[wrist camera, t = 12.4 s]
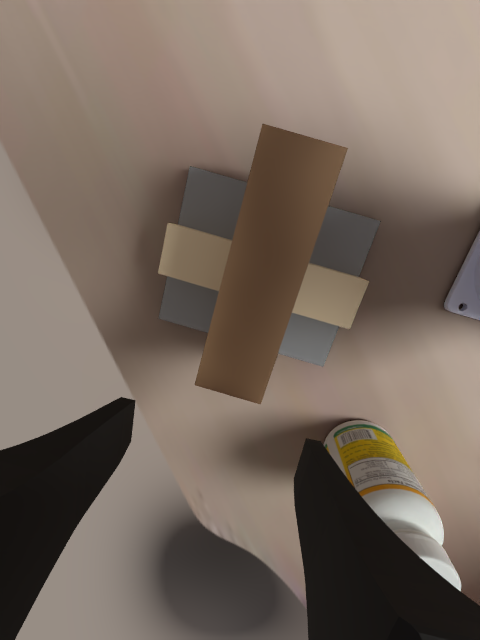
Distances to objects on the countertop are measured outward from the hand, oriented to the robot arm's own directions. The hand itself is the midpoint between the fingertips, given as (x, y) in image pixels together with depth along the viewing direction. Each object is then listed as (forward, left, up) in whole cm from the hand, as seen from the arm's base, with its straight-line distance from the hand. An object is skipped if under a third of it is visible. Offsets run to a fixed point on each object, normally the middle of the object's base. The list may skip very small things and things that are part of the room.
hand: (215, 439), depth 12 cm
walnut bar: (0, -6, -7) cm, 10 cm away
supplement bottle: (-11, +5, -10) cm, 16 cm away
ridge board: (0, -6, -10) cm, 12 cm away
